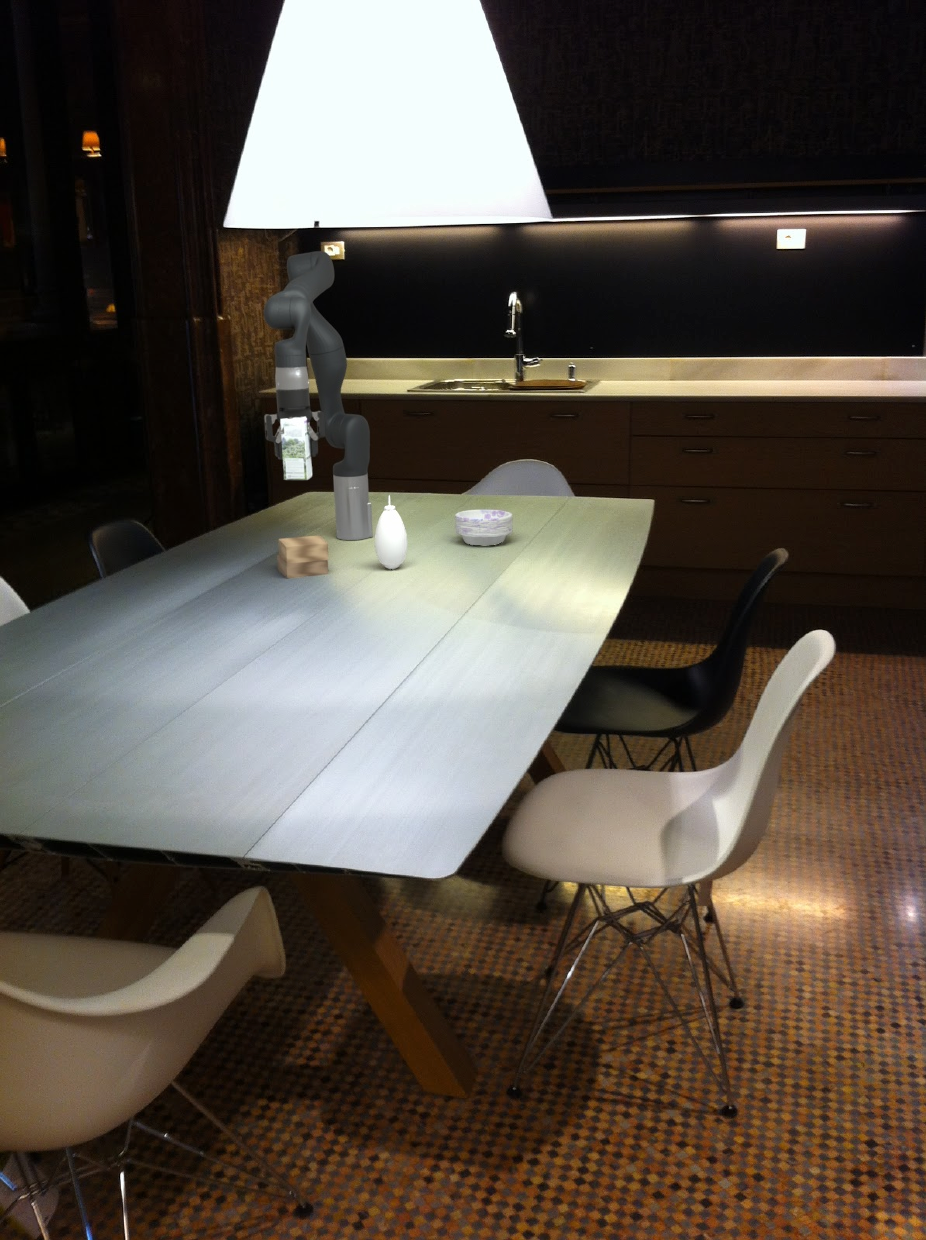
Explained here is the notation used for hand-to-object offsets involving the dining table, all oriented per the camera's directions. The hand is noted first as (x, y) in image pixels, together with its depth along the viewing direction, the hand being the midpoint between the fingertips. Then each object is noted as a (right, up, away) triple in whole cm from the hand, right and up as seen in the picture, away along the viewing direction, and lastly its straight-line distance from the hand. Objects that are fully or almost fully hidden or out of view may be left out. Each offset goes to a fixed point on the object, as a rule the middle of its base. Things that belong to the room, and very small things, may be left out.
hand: (296, 457), depth 273 cm
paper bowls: (+45, -18, +34) cm, 59 cm away
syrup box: (0, -5, +2) cm, 5 cm away
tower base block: (0, -27, +8) cm, 28 cm away
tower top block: (+1, -23, +7) cm, 24 cm away
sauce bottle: (+22, -26, +9) cm, 35 cm away
